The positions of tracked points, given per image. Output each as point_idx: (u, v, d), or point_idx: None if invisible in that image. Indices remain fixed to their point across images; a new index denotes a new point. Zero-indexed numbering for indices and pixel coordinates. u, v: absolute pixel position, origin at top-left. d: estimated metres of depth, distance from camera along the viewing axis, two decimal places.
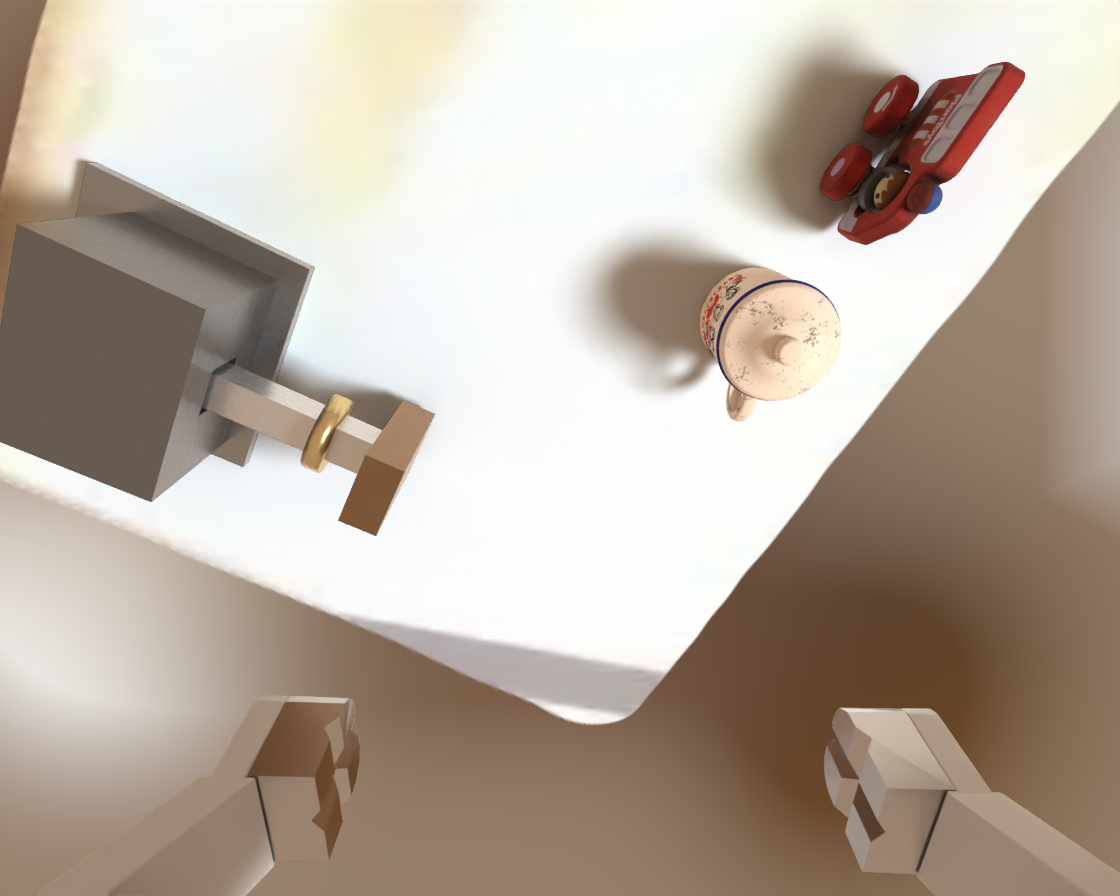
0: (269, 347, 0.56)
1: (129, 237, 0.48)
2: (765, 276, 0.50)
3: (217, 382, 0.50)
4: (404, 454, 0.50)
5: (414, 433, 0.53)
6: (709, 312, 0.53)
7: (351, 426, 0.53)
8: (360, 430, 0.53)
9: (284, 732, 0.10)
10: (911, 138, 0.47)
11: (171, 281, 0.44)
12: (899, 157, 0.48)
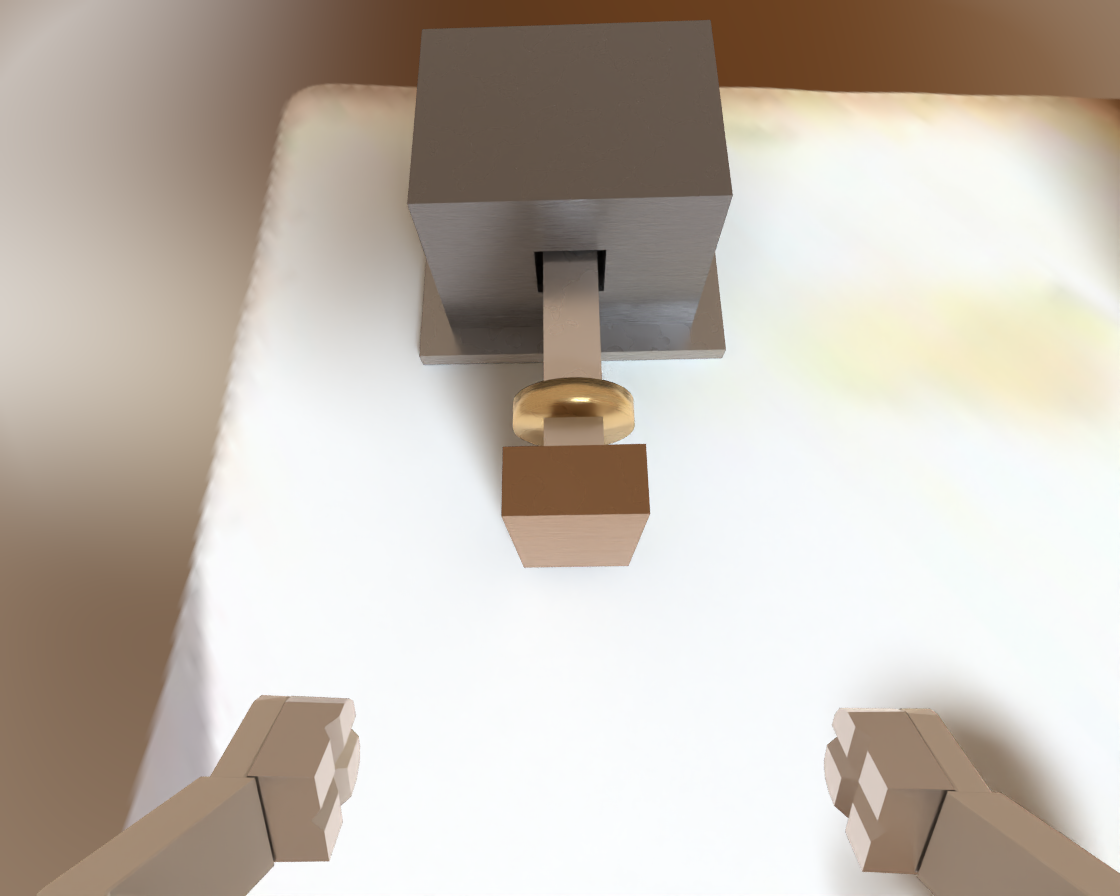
0: (604, 338, 0.43)
1: None
2: None
3: (587, 261, 0.36)
4: None
5: None
6: None
7: None
8: None
9: (284, 732, 0.10)
10: None
11: None
12: None
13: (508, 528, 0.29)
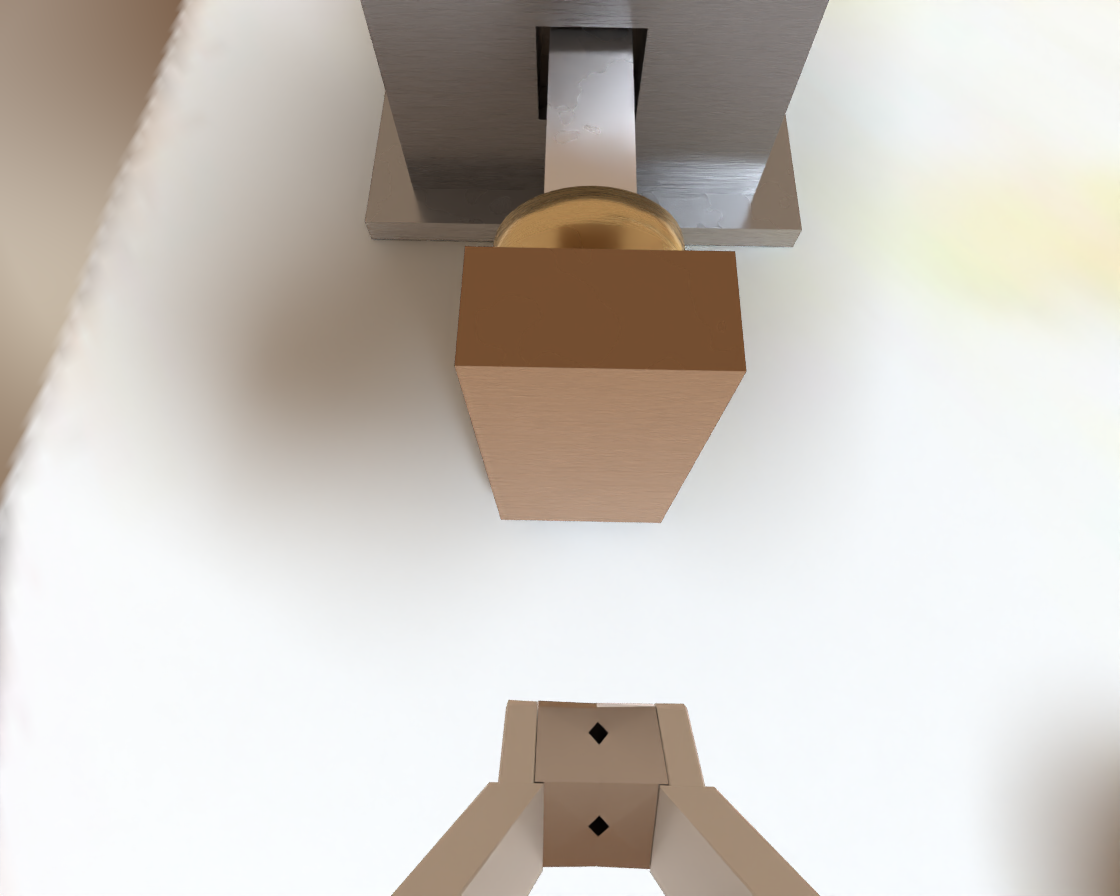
0: None
1: None
2: None
3: (618, 48, 0.24)
4: None
5: None
6: None
7: None
8: None
9: (551, 737, 0.10)
10: None
11: None
12: None
13: (470, 409, 0.16)
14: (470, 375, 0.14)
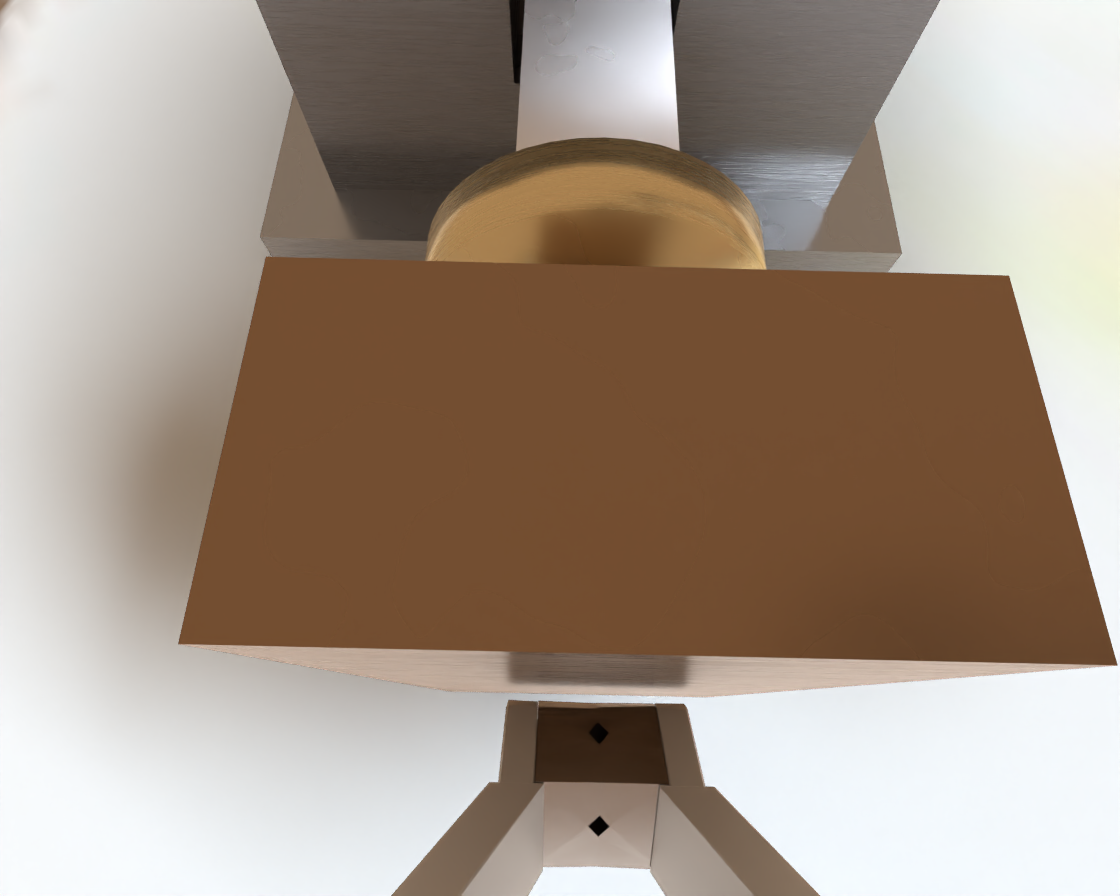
0: None
1: None
2: None
3: None
4: None
5: None
6: None
7: None
8: None
9: (551, 738, 0.10)
10: None
11: None
12: None
13: (306, 665, 0.06)
14: (250, 649, 0.05)
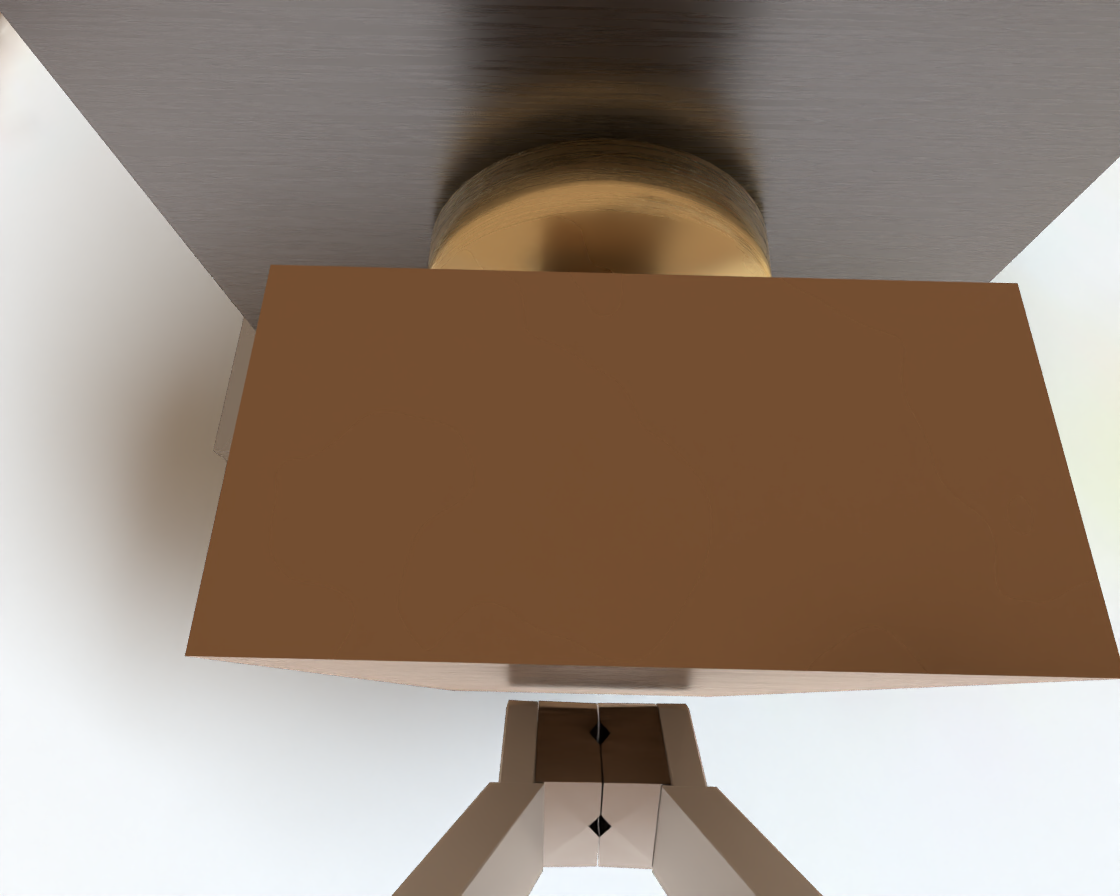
0: None
1: None
2: None
3: None
4: None
5: None
6: None
7: None
8: None
9: (551, 737, 0.10)
10: None
11: None
12: None
13: (311, 671, 0.06)
14: (256, 659, 0.05)
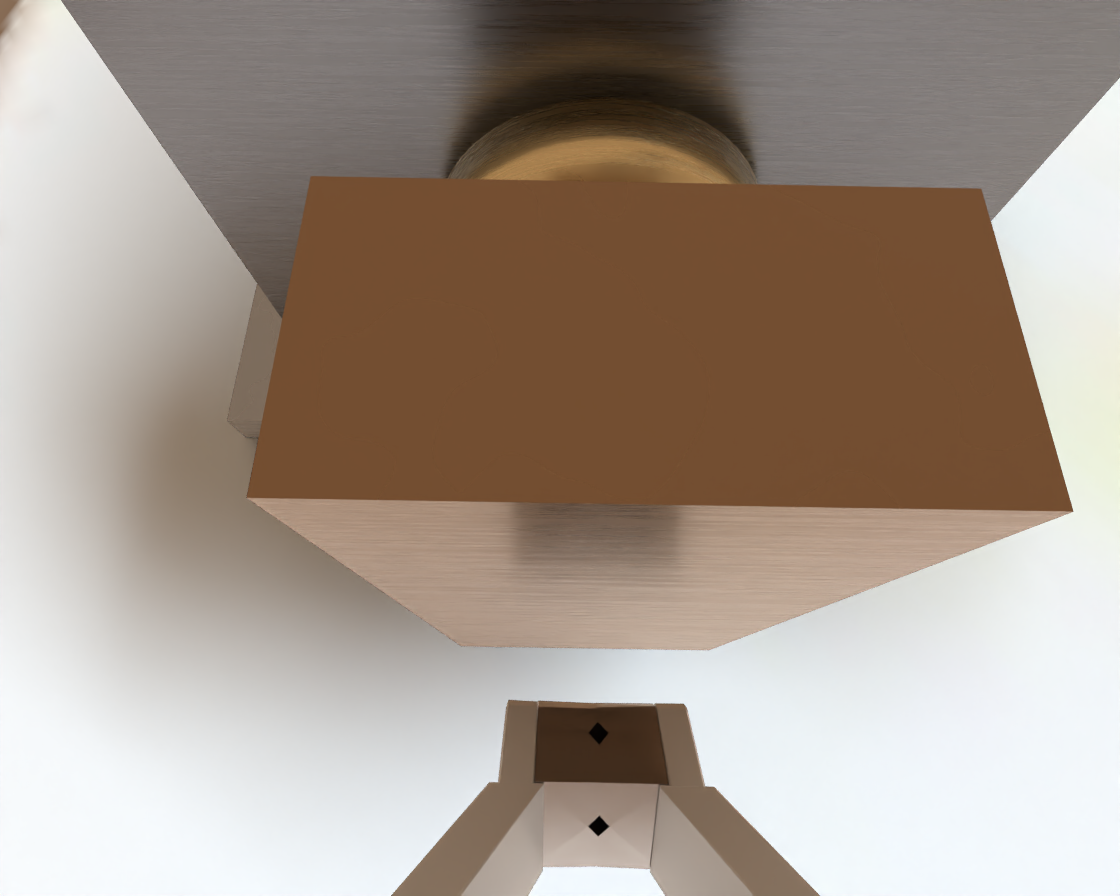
0: None
1: None
2: None
3: None
4: None
5: None
6: None
7: None
8: None
9: (551, 737, 0.10)
10: None
11: None
12: None
13: (344, 560, 0.07)
14: (305, 514, 0.05)
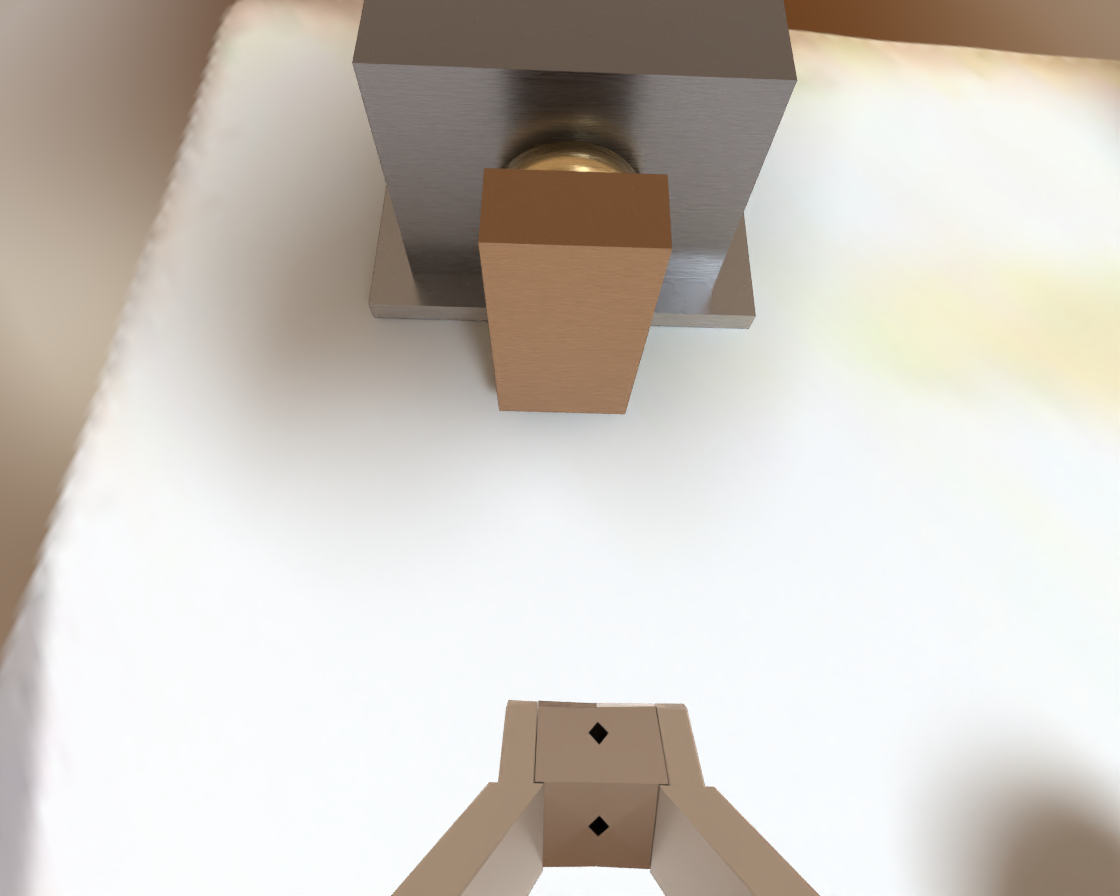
0: None
1: None
2: None
3: None
4: None
5: None
6: None
7: None
8: None
9: (551, 738, 0.10)
10: None
11: None
12: None
13: (485, 285, 0.22)
14: (488, 251, 0.21)
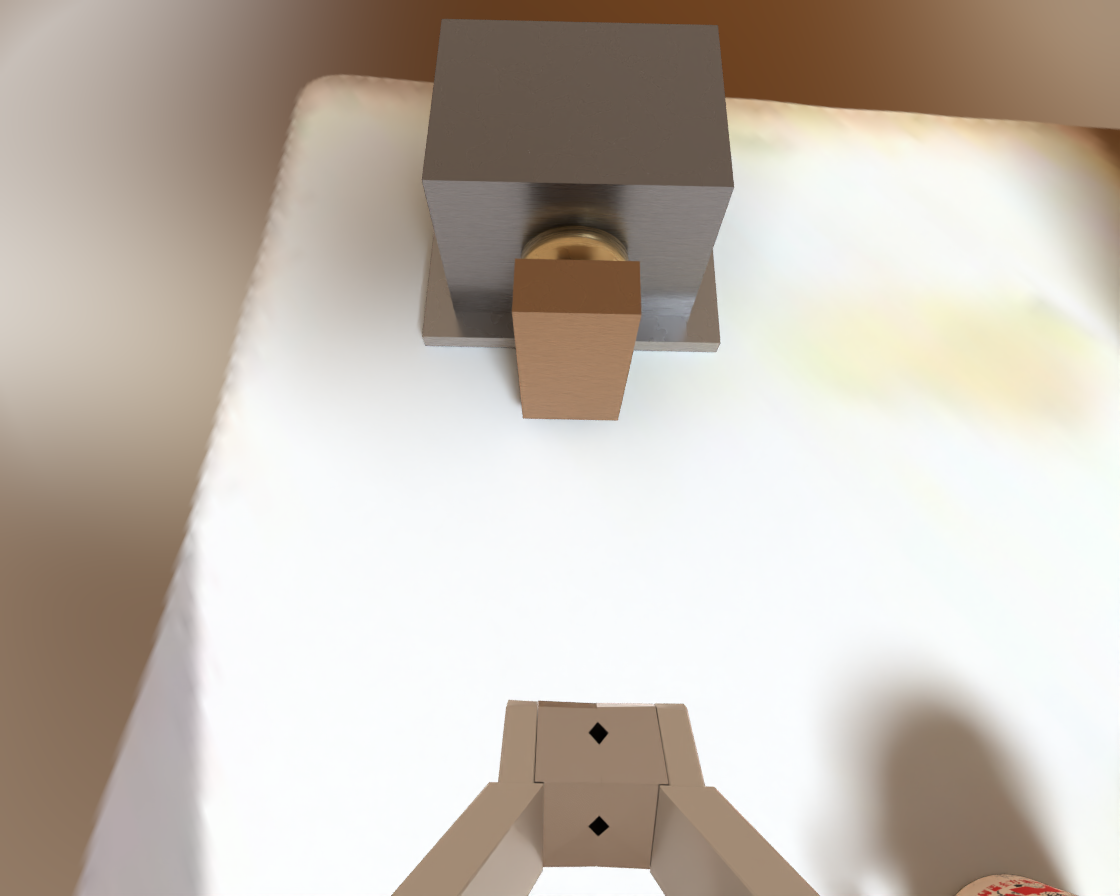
0: None
1: None
2: None
3: None
4: None
5: None
6: (1027, 890, 0.31)
7: None
8: None
9: (551, 737, 0.10)
10: None
11: None
12: None
13: (515, 336, 0.32)
14: (518, 316, 0.31)
